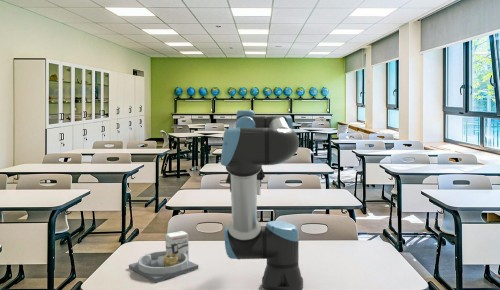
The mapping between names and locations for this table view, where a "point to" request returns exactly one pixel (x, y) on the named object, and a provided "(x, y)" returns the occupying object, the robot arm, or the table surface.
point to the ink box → (177, 243)
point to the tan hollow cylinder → (170, 260)
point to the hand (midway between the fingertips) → (246, 197)
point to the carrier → (161, 266)
